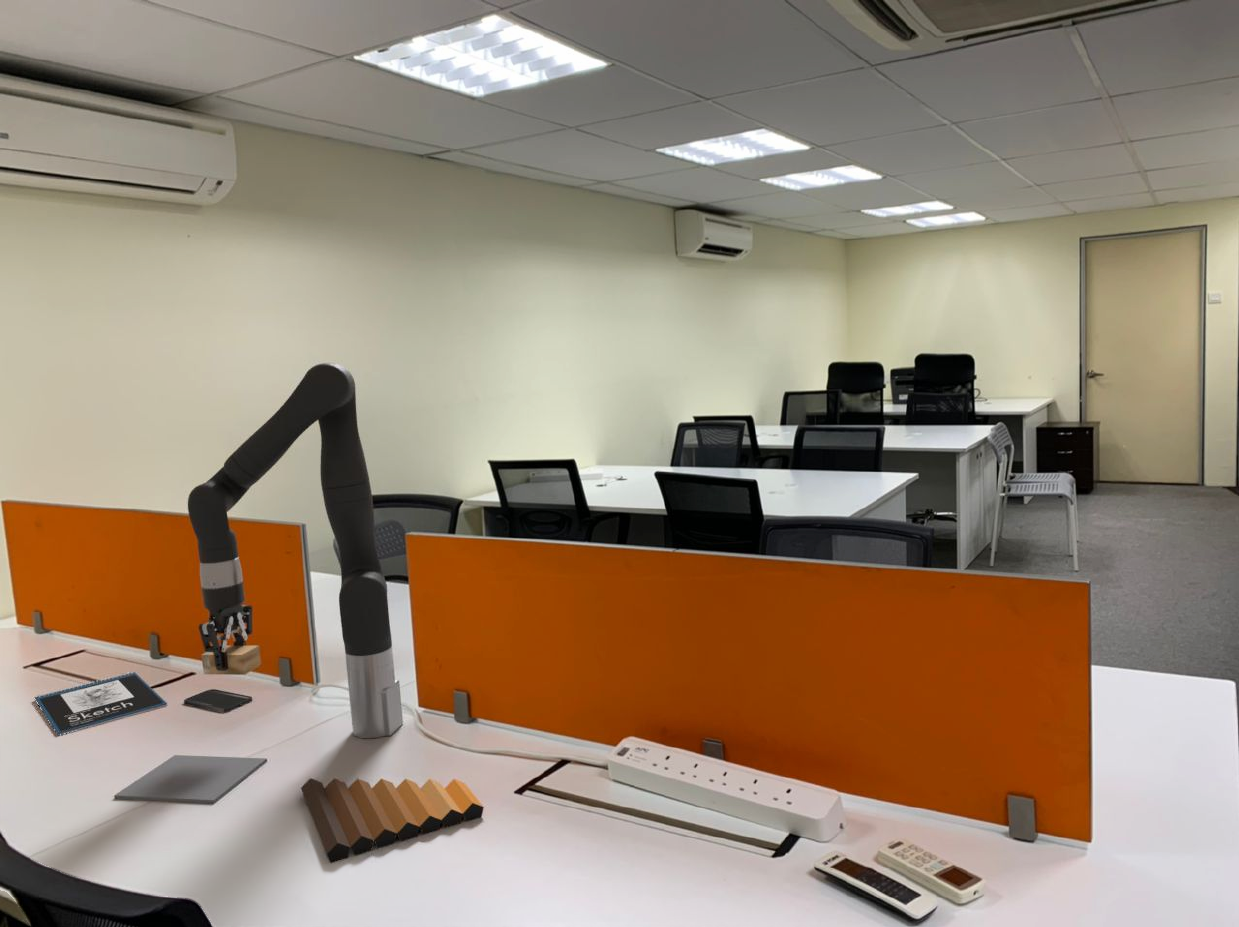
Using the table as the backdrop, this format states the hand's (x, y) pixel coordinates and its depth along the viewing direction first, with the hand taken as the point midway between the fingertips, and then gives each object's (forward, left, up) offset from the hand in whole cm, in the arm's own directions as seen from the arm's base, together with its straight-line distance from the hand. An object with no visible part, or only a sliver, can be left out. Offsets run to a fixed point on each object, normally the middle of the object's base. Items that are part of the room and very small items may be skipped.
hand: (232, 664), depth 176 cm
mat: (0, +15, -17) cm, 22 cm away
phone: (+20, -21, -17) cm, 34 cm away
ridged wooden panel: (-42, +21, -18) cm, 50 cm away
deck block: (0, 0, -1) cm, 1 cm away
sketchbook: (+50, -19, -18) cm, 56 cm away
